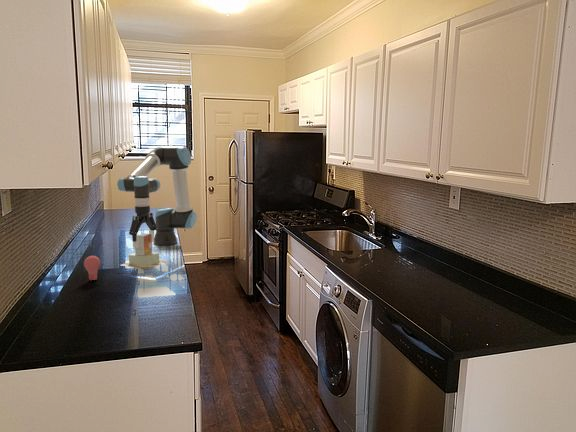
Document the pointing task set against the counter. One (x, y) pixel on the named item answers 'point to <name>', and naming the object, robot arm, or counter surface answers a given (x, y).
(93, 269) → the light bulb
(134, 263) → the base block
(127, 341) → the counter surface
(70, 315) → the counter surface
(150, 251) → the small box
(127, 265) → the birch board
